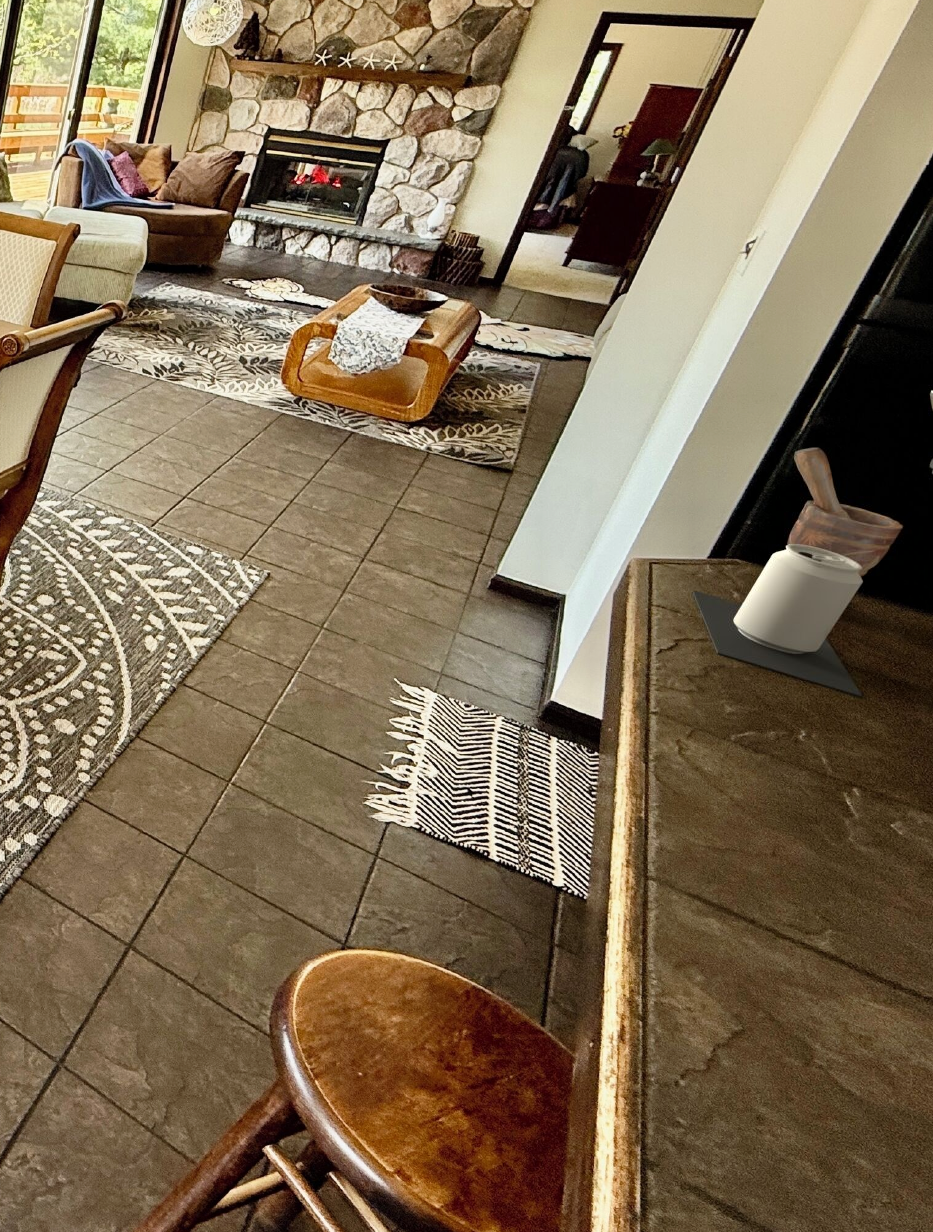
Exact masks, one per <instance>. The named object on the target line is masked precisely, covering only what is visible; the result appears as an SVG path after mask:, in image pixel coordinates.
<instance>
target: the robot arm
mask: <svg viewBox="0 0 933 1232" xmlns="http://www.w3.org/2000/svg"><path fill="white" fill-rule="evenodd" d="M929 396H930V403H931V409H932V410H933V390H931V391H930V393H929ZM929 468H931V470H932V472H931V474H932V475H933V458H932V459H931V461H930V463H929Z"/></svg>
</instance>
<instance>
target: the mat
mask: <svg viewBox="0 0 933 1232" xmlns="http://www.w3.org/2000/svg"><path fill="white" fill-rule="evenodd" d="M691 592H693V593H692V595H693V598H694V597H695V598H694V600H695V603H696V605H697V608H698V610H699V609H700V610H699V612H700V615H701V617H702V619H703V622H704V623H705V627H706V629H707V632H708V634H709V637H710V639H711V642H712V644H713V647H714V649H715V652H716V654H717V655H719V656H723V657H727V658H729V659H733V660H736V661H740V662H743V663H746V664H748V665H749V664H750V665H753V666H756V667H759V668H762V669H766V670H770V671H772V672H776V673H780V674H783V675H786V676H789V677H792V678H796V679H800V680H802V681H806V682H808V683H812V684H815V685H819V686H821V687H826V688H829V689H832V690H836V691H840V692H843V693H845V694H849V695H853V696H855V697H859V698H863V695H862V693H861V691H860V690H859V688H858V687H857V685H856V684H855V682H854V679H852V676H850V674H849V672H848V671H847V669H846V668H845V666H844V664H843V663H842V661H841V660H840V658H839V657H838V654H836V652H835V650H834V648H833V647H832V645H831V644H830V642H829V641H828V639H827V638H826V639H825V640H824V642H823V643H822V645H821V646H820V648H819V649H818V650H816V651H813V652H804V653H803V654H794V653H787V652H783V651H779V650H776V649H773V648H769V647H767V646H764V645H762V644H759V643H757V642H755V641H753V640H751V639H749V638H747V637H746V636H744V635H743V634H742V633H741V632H740V631H739V629H738V627H737V626H736V625H735V623H734V620H733V619H734V618H735V616H736V614H737V613H738V611H739V609H740V608H741V606H742V604H743V603H741V602H737V601H734V602H726V601H727V600H728V601H731V600H730V599H726V598H723V599H721V598H722V597H719V596H716V595H712V594H708V593H705V592H701V591H698V590H694V589H692V590H691ZM709 595H710V596H709ZM717 601H719V602H717ZM723 601H724V602H723ZM736 602H737V603H738V604H736ZM728 603H729V604H728ZM731 603H734V604H731ZM736 606H737V607H736Z"/></svg>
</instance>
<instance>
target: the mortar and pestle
mask: <svg viewBox="0 0 933 1232" xmlns="http://www.w3.org/2000/svg"><path fill="white" fill-rule="evenodd" d="M793 459H794V462H795V464H796V467H797V470H798V471H799V473H800V475H801V476H802V478H803V481H804V482H805V484H806V485H807V487H808V490H809V493H810V495H811V496H812V498H813V500H807V501H806V503H805V504H804V507H802V508H803V509H802V511H801V512H800V513H799V516H798V519H797V520H796V522H795V523H794V525H793V527H792V529H791V531H790V533H789V535H788V539H787V545H789V544H800V545H807V546H812V547H817V548H820V549H824V550H828V551H831V552H834V553H837V554H839V555H842V556H845V557H847V558H849V559H851V560H853V561H855V562H857V563H858V564H859V565H860V566H861V567H862V569H861V570H860V571H858V573H859V575H860V577H861V578H862V577H864V576H865V575H866V574H867V573H868V571H869V570H870V569H872V568H874V567H875V566H876V565H878V564H879V563H880V562H881V560H882V559H883V558H884V556H886V555H887V553H888V552H889V550H890V547H891V545H892V544H893V543H894V542H895V540H896V539H897V537H898V535H899V534H900V533H901V531H902V529H903V527H904V526H903V524H900V522H899V521H898V520H894V519H892V518H891V517H889V516H885V515H882V514H879V513H876V512H874V511H873V512H872V511H869V510H866V509H863V508H860V507H856V506H851V505H847V504H841V503H840V502H839V500H838V496H837V493H836V489H835V486H834V481H833V476H832V471H831V467H830V463H829V459H828V457H827V455H826V453H825V452H824V451H823V450H822V449H821V448H820V447H809V448H803V449H799V450H797V451H795V452H794V456H793Z"/></svg>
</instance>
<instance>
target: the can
mask: <svg viewBox="0 0 933 1232" xmlns="http://www.w3.org/2000/svg"><path fill="white" fill-rule="evenodd" d="M785 548H786V549H784V550H779V551H776V552H774V553H772V555H771V556H770V558H769V560H768V561H767V562H766V564H765V566H764V567H763V569H762V571H761V573H760V574H759V576H758V578H757V579H756V581H755V583H754V584H753V586H752V588H751V589H750V591H749V592H748V594H747V596H746V597H745V599H744V601H743V602H742V603H741V604H742V606H741V608H740V609H739V611H738V613H737V614H736V616H735V618H734V619H733V620H734V623H735V625H736V626H737V627H738V629H739V631H740V632H741V633H742V634H743V635H744V636H746V637H747V638H749V639H751V640H753V641H755V642H757V643H759V644H762V645H764V646H767V647H769V648H773V649H776V650H779V651H783V652H787V653H794V654H803V653H804V652H813V651H816V650H818V649H819V648H820V646H821V645H822V643H823V642H824V640H825V639H827V637H828V636H829V634H830V632H831V631H832V629H833V628H834V626H835V625H836V623H837V622H838V620H839V619H840V617H841V616H842V614H843V613H844V611H845V610H846V608H847V607H848V605H849V603H850V602H851V601H852V599H853V598H854V596H855V595H856V593H857V591H859V588H860V587H861V586H862V584H863V582H864V580H863V578H862V576H861V577H860V575H859V573H858V571H860V570H861V569H862V567H861V566H860V565H859V564H858V563H857V562H855V561H853V560H851V559H849V558H847V557H845V556H842V555H839V554H837V553H834V552H831V551H828V550H824V549H820V548H817V547H812V546H807V545H800V544H789V545H788V544H787V545H785Z"/></svg>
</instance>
